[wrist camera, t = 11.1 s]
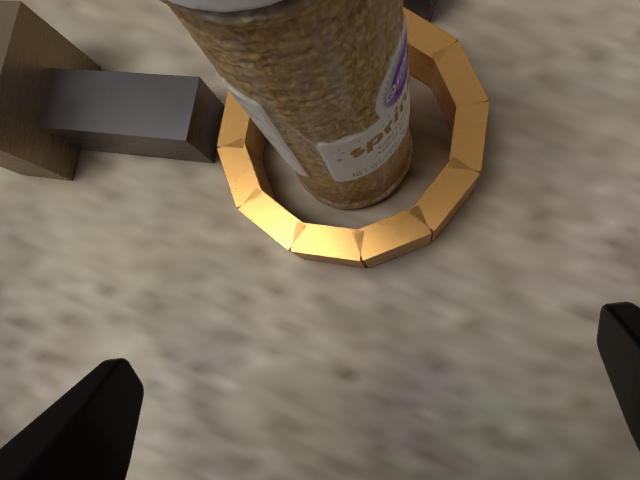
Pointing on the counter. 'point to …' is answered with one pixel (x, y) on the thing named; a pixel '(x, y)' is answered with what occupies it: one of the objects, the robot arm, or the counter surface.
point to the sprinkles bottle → (317, 86)
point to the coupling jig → (221, 130)
